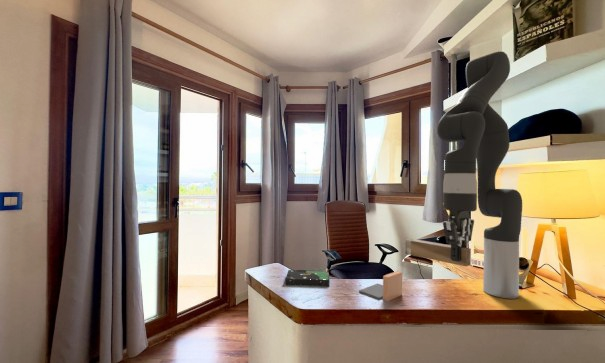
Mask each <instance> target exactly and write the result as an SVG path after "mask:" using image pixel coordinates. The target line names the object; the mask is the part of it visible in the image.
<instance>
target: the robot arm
mask: <svg viewBox="0 0 605 363" xmlns="http://www.w3.org/2000/svg"><path fill="white" fill-rule="evenodd" d="M465 66H466V67H465V79H466V80H465V81H466V86H467V89H465V91H464V92H463V93H462V94H461V95H460V97H459V99H458V101H457V103H456V105H454V106H453V107H451V108H450V109H449V110H448V111H446V112H445V113H444V114H443V116H441V118H440V119H439V121H438V124H437V128H436V130H437V136H438V137H439V139H440V140H442V141H443V142H445V143H454V142H456V143H457V142H464V143H463V144H462V146H460V147H459V148H457V149H454V150H449V151H447V153H445V156H444V177H443V184H442V187H443V188H442V192H443V194H442V195H443V197H442V198H443V200H442V209H443V210H446V211H449V213H448V214H449V215H448V219H447V220H448V221H445V220H444V221H443V222H442V225H443V226H442V227H443V230H444V231H443V232H444V236H445V242H446V244H448V245H451V260H453V261H457V262H459V261H461V247H464V248H468V245H469V244H470V243H469V242H471V241H472V237H473V231H474V225H475V220H474V219H473V218H470V212H476V211H477V209H478V210H479V212H480V213H481V215H483V216H485V217H490V218H500V223H499V224H497V225H496V226H492V227H488V228H485V229H484V230H483V282H482V284H483V287H482V288H483V290H482V291H483V292H484V293H486V294H487V295H488V294H489V295H490V296H493V297H497V298H503V299H512V300H513V299H517V298H519V296H520V293H519V290H520V289H519V288H520V236H521V235H520V234H521V230H522V216H523V199H522V195H521V193H520V191H518V190H517V189H513V188H512V189H511V188H496V174H497V171H498V169H499V168H500V165H501V164H502V162H503V160H504V159H505V158H506V156H507V154H508V151H509V149H510V135H509V134H510V132H509V127H508V123H507V122H506V121H505V120H504V118H503V117H502V116H501V115H500V114H499V113H498V112H497V111H496V110H495V109H494V108H493V107H492V106H491V105H490V104H489V102H490V100H491V99H492V97H493V96H494V94H496V92H498V90H499V89H500V88H501V87H502V85H503V84H504V83H505V82H506V81H507V79H508V77H509V75H510V73H511V64H510V59H509V56H508V54H507V53H506V52H505V51H494V52H492V53H488V54H486V55H482V56H480V57H477V58H474V59H471V60H469V61H468V62H467V63H466V65H465Z"/></svg>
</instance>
